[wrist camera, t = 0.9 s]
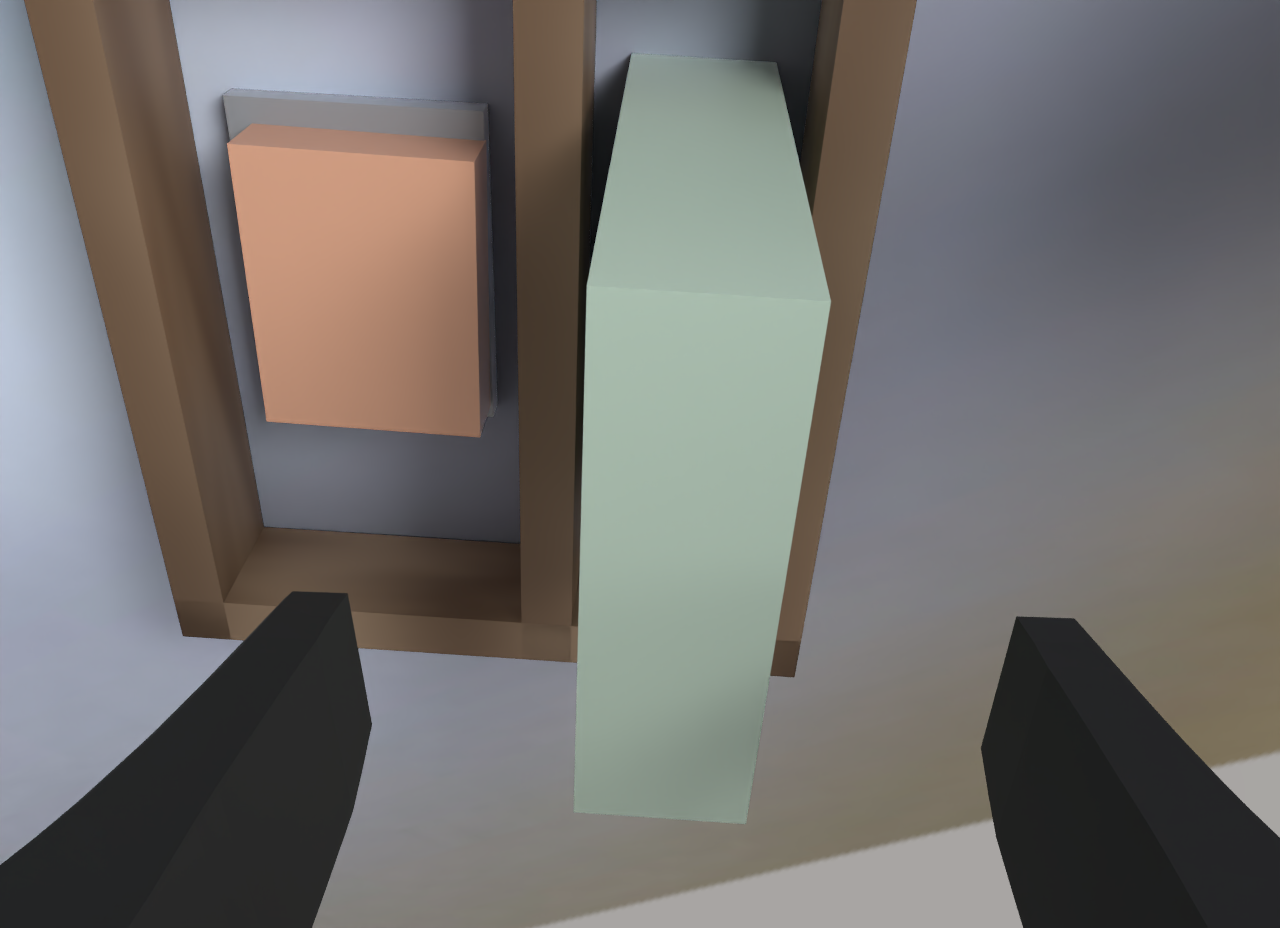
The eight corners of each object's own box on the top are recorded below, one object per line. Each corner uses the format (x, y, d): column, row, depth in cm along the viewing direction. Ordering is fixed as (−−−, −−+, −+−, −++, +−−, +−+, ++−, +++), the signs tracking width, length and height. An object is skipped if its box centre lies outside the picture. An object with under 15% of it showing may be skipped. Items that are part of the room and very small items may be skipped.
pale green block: (776, 61, 18) (831, 300, 11) (729, 461, 23) (745, 823, 15) (631, 52, 18) (587, 285, 11) (613, 453, 23) (573, 811, 15)
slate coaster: (494, 91, 19) (483, 111, 18) (503, 386, 23) (493, 417, 22) (247, 76, 20) (222, 95, 18) (291, 373, 23) (272, 402, 22)
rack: (914, -175, 16) (945, -160, 14) (786, 596, 25) (794, 677, 23) (61, -228, 16) (-31, -219, 14) (225, 559, 25) (182, 636, 23)
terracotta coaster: (486, 139, 19) (474, 161, 18) (490, 405, 22) (480, 437, 21) (252, 123, 19) (227, 143, 18) (286, 390, 22) (266, 421, 21)
